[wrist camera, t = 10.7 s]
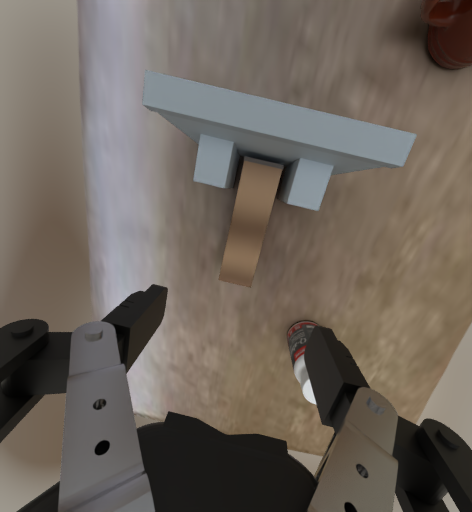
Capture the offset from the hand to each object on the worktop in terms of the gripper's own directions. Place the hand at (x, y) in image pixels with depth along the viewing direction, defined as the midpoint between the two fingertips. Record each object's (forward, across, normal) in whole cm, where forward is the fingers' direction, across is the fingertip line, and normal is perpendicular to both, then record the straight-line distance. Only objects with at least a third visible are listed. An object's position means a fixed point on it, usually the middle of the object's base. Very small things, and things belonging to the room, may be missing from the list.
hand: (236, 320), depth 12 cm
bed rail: (+20, 0, -2) cm, 20 cm away
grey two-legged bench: (+20, +1, -9) cm, 22 cm away
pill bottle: (+20, -13, +13) cm, 27 cm away
